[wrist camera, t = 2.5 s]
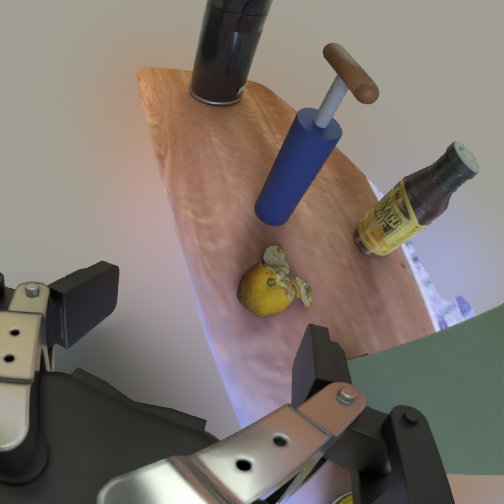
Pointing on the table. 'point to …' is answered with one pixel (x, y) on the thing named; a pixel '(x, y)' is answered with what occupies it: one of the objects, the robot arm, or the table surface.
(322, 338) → the robot arm
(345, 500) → the pill bottle
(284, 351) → the table surface
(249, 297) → the fruit
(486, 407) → the green panel
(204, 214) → the table surface
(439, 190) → the sauce bottle
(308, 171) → the t-handle plunger
